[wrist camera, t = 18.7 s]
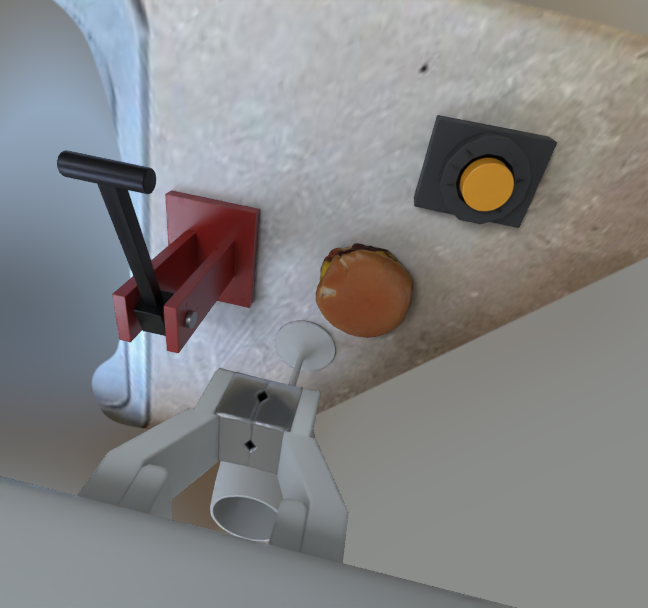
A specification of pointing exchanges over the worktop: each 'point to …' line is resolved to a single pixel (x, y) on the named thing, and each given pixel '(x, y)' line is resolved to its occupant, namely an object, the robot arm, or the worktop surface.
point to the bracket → (197, 266)
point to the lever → (125, 224)
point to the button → (486, 184)
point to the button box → (473, 144)
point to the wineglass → (256, 485)
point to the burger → (363, 290)
